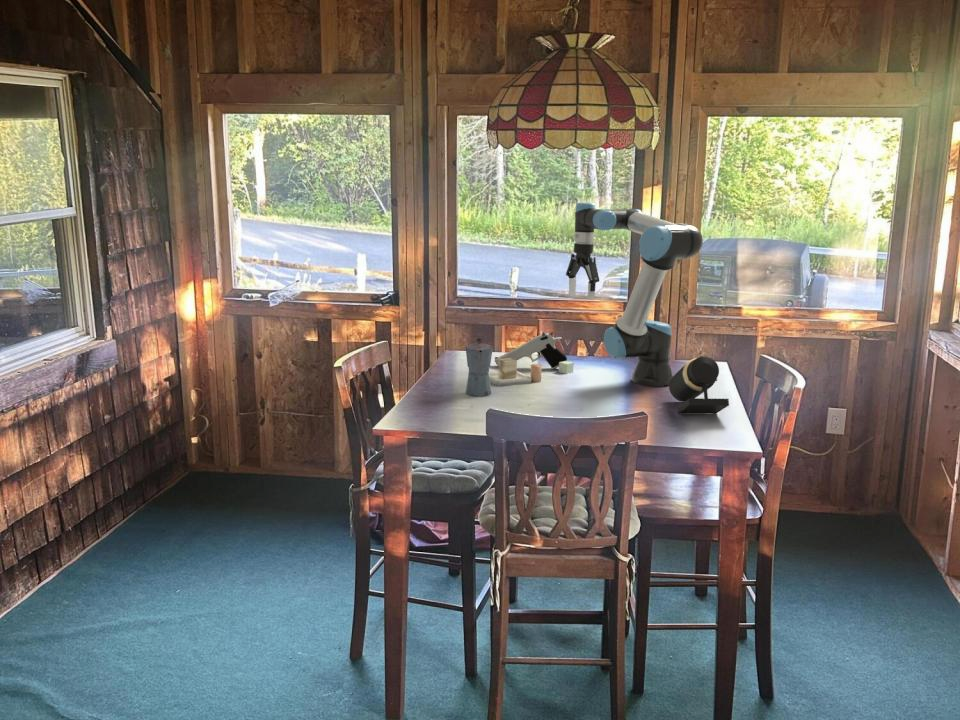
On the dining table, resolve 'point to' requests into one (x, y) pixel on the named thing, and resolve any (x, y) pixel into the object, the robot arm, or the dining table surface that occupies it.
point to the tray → (519, 379)
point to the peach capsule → (536, 373)
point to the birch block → (507, 368)
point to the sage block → (566, 367)
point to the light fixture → (696, 386)
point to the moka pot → (478, 368)
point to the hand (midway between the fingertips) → (581, 297)
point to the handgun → (538, 350)
